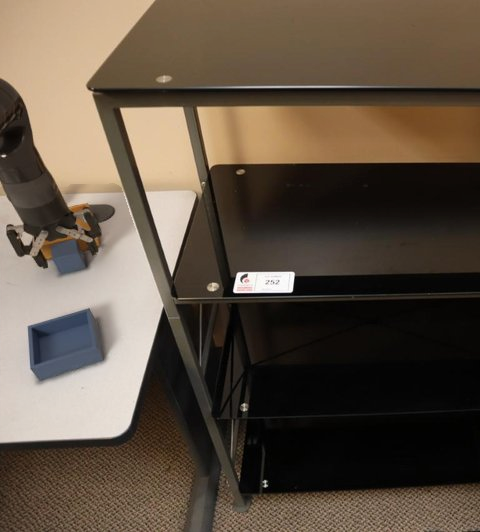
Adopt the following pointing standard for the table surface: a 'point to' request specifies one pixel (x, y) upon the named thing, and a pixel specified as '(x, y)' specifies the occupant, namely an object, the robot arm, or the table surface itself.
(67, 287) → the table surface
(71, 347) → the blue bin
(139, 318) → the table surface
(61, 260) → the blue block
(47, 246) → the ochre bin
